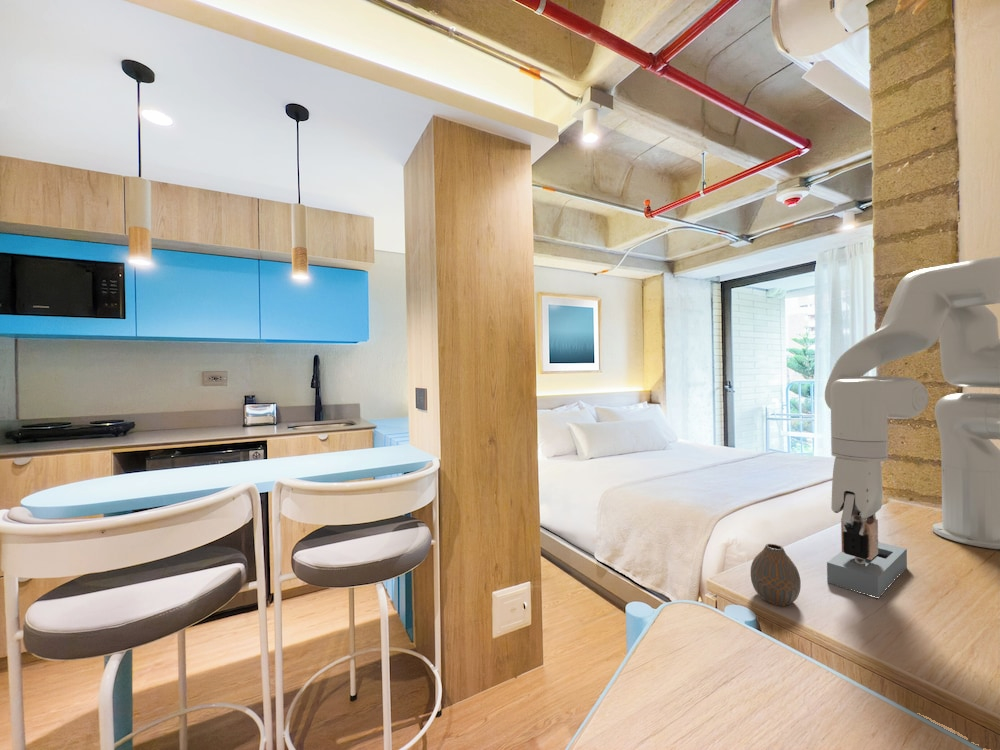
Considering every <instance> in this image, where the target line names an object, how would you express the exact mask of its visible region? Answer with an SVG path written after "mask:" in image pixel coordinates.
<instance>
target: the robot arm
mask: <svg viewBox="0 0 1000 750" xmlns="http://www.w3.org/2000/svg"><path fill="white" fill-rule="evenodd" d="M997 304H1000V255H999V256H994V257H993V256H992V257H985V258H977V259H972V260H966V261H960V262H954V263H948V264H942V265H937V266H931V267H927V268H921V269H919V270H918V269H917V270H915V271H912V272H910V273H908V274H906V275H904V277H902V279H900V281H898V284H897V286H896V288H895V290H894V293H893V295H892V297H891V300H890V302H889V305H888V307H887V310H886V311H885V314H884V316H883V319H882V321H881V324H880V326H879V328H878V329H877V330H875V331H873V332H872V333H870V334H868V335H867V336H865V337H864V338H862V339H861V340H859V341H857V342H856V343H855V344H853V346H851V347H850V348H847V350H845V352H844V353H842V354H841V355H840V357H838V359H837V360H836V362H835V364H834V366H833V368H832V371H831V373H830V374H829V377H828V378H827V379H828V380H827V382H826V385H825V389H824V400H825V401H824V402H825V404H826V405H827V407H828V409H830V427H831V428H830V431H831V432H830V433H831V434H830V435H831V438H830V439H831V440H830V444H831V450H830V451H831V456H833V457H834V461H833V463H834V464H833V468H832V469H833V470H832V480H831V482H832V485H831V504H830V505H831V511H832V512H833V513H836V514H838V513H841V512H842V514H841V518H842V522H843V548H844V553H845V554H848V555H852V556H855V557H859V558H862V559H867V558H868V536H867V535H865V527H866V518H872V519H877V518H876V517H877V516H876V513H877V512H879V511H880V510H881V508H882V506H883V493H884V492H883V473H882V472H883V471H882V468H883V467H882V462H887V461H888V460H889V447H888V446H889V441H888V438H889V437H888V433H889V432H888V419H898V420H900V419H901V420H902V419H903V420H904V419H911V418H915V417H918V416H919V415H920V414H922V413H923V412H924V411H925V410H926V409H927V407H928V404H929V399H930V397H929V396H930V395H929V391H928V389H927V388H926V386H925V384H923V383H922V382H920V381H919V380H917V379H914V378H911V377H907V376H906V377H905V376H879V375H878V376H877V375H876V376H875V375H874V376H871V375H869V376H868V375H867V376H865V375H866V374H867V373H869V372H870V371H871V370H873V369H875V368H877V367H880V366H881V365H884V364H886V363H889V362H893V361H896V360H900V359H903V358H905V357H909V356H912V355H914V354H917V353H920V352H923V351H926V350H928V349H930V348H932V347H933V346H934V345H936V343H937V342H939V355H940V356H939V357H940V366H941V373H942V377H943V379H944V381H945V382H946V383H948V384H949V385H952V386H956V387H963V388H980V389H981V388H987V389H988V388H989V389H996V388H997V389H1000V334H999V324H998V323H999V321H998V318H997V315H996V314H994V312H993V311H992V310H991V309H990V308H988V307H987V306H988V305H997ZM938 340H939V341H938ZM934 417H935V418H934V419H935V421H936V425H937V429H938V434H939V440H940V449H941V451H940V453H941V457H940V459H941V460H940V461H941V517H942V518H941V519H942V521H941V522H937V523H934V524H932V529H931V530H932V531H933V533H934V534H936V535H938V536H940V537H942V538H945V539H947V540H950V541H954V542H957V543H960V544H965V545H969V546H972V547H979V548H984V549H992V550H1000V448H999V447H998V446H997V445H995V444H994V442H993V441H992V440H1000V393H984V392H983V393H982V392H959V393H951V394H947V395H945V396H943V397H940V398H939V399H938V400H937V402H936V403H935V406H934ZM854 519H857V520H860V525H859V524H858V522H857V521H855V520H854Z"/></svg>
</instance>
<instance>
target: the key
mask: <svg viewBox="0 0 1000 750" xmlns="http://www.w3.org/2000/svg"><path fill="white" fill-rule="evenodd" d="M854 520H855V521H857V522H858V524H859V525H860V520H857V519H854ZM840 525H841V526H840V527H841V528H840V529H841V531H840V532H841V533H840V535H841V536H840V537H841V551H842V552H844V548H843V522H842V517H841V518H840ZM878 525H879V520H878V519H877V518H876V519H872V518H866V527H865V535H867V536H868V558H867V559H869V560H872V559H873V558H874V557H875V556H876V555H877V554H878V542H879V526H878ZM855 563H857V564H861V565H864V566H865V559H862V558H859V557H855Z"/></svg>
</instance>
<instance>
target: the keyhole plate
mask: <svg viewBox="0 0 1000 750" xmlns="http://www.w3.org/2000/svg"><path fill="white" fill-rule="evenodd" d="M907 550H908V549H907V548H905V547H901V546H897V545H893V544H889V543H885V542H881V541H878V554H877V555H876V556H875V557H874V558H873V559H872V560H869V559H865V566H864V565H861V564H857V563H855V556H852V555H848V554H845V553H844V552H842V550H841V551H840V552H838V553H837V554H836V555H835V556H833V557H832V558H830V559H829V560H828V561H826V576H827V577H826V582H829V583H828V584H830V583H832V584H831V585H833V584H835V585H834V586H836V585H838V586H837V587H839V586H841V587H840V588H842V587H844V588H843V589H845V588H847V589H846V590H848V589H852V590H855V591H858V592H861V593H865V594H868V595H872V596H875V597H879V596H880V595H881V594H882V593H883V592H884V591H885V589H886V588H888V586H889V585H890V584H891V583H892V582H893V581H894V579H896V578H897V576H899V574H901V573H902V572H903V571H904V572H905V570H907V568H908V560H907V559H908V558H907V557H908V553H907V552H908V551H907ZM904 572H903V573H904ZM903 573H902V574H903ZM902 574H901V575H902ZM899 577H900V576H899ZM897 579H898V578H897ZM897 579H896V580H897ZM894 582H895V581H894ZM894 582H893V583H894ZM888 589H889V588H888ZM885 592H886V591H885ZM885 592H884V593H885ZM884 593H883V594H884ZM883 594H882V595H883Z"/></svg>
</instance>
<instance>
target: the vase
mask: <svg viewBox="0 0 1000 750" xmlns="http://www.w3.org/2000/svg"><path fill="white" fill-rule="evenodd" d="M750 579H751V584H752V586H753V589H754V591H755V592H756V593H757V595H759V597H760V598H761V599H762V600H763V601H765V602H766V603H769V604H772V605H775V606H780V607H781V606H782V607H783V606H789V605H790V604H793V603H794V602H795V601H796V600H797V599H798V597H799V595H800V593H801V587H802V586H801V585H802V584H801V577H800V572H799V571H798V568H797V566H796V565H795V563H794V562H793V561H792V559H791V558H790V557H789V556H788V554H787V553H786V551H785V549H784V547H783V546H782V545H779V544H776V543H767V544H765V546H764V548H763V549H762V550H761V551H760V552H759V553H758V554H756V555H755V557H754V558H753V560H752V562H751V566H750Z"/></svg>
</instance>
